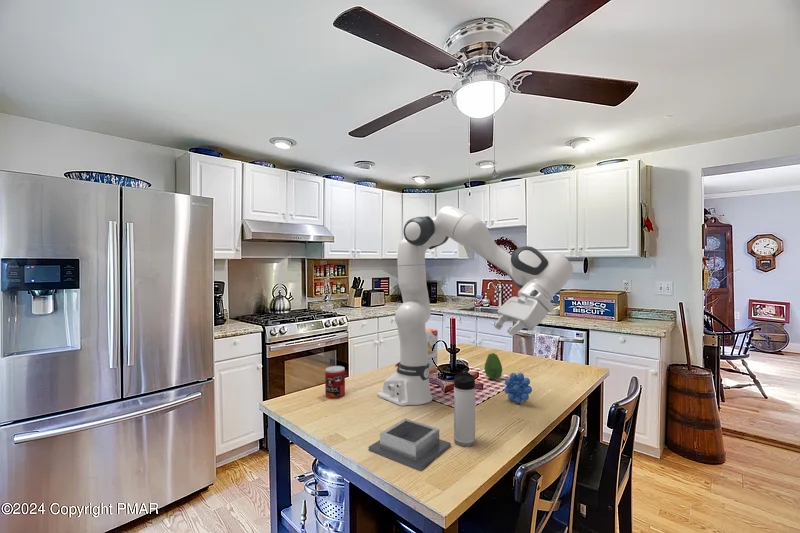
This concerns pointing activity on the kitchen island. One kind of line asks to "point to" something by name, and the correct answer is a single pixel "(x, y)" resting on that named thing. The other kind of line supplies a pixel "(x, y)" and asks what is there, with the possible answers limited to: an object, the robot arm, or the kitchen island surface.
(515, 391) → the grapes
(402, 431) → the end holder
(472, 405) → the travel mug
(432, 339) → the cracker box
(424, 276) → the robot arm
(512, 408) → the kitchen island surface
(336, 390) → the canned food
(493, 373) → the avocado
